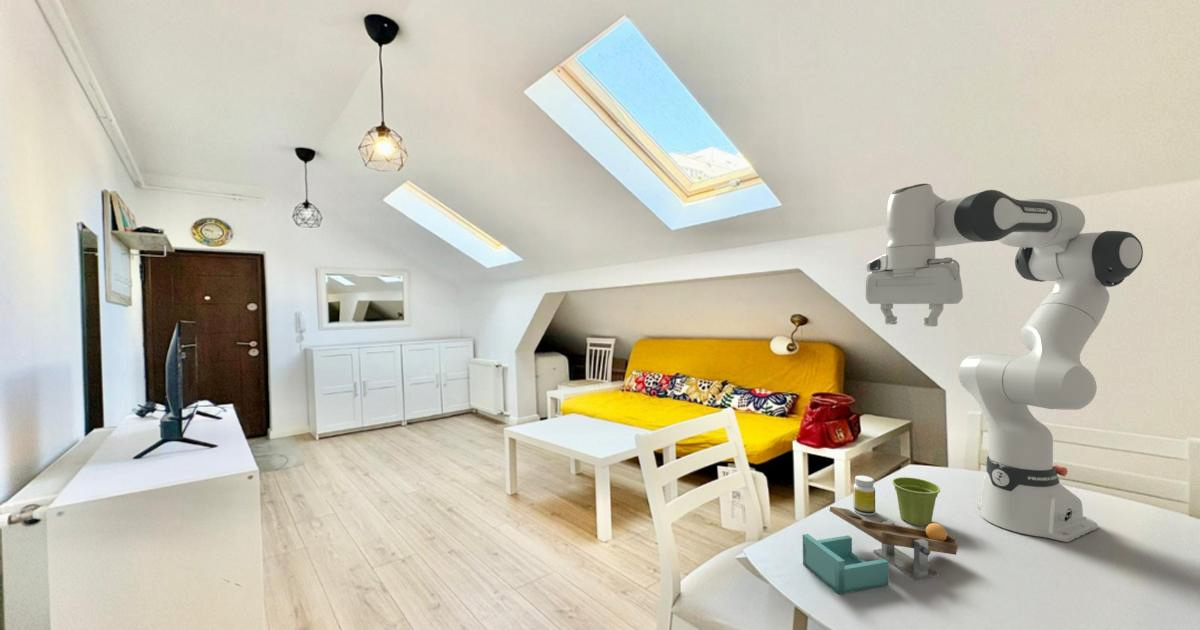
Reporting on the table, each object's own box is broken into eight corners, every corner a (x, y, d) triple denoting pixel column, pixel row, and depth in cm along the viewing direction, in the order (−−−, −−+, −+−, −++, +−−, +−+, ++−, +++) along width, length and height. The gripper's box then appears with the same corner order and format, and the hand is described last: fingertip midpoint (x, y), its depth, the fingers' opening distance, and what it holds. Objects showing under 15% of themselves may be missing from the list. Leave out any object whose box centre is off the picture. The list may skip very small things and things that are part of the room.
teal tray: (848, 556, 96) (848, 527, 96) (888, 585, 86) (888, 553, 86) (802, 564, 93) (802, 534, 93) (839, 594, 84) (838, 561, 83)
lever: (895, 521, 106) (897, 509, 106) (955, 554, 92) (958, 540, 92) (829, 510, 102) (832, 498, 102) (882, 543, 88) (885, 529, 88)
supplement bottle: (878, 516, 113) (878, 482, 112) (857, 515, 114) (857, 481, 113) (871, 508, 117) (871, 475, 117) (850, 506, 118) (850, 474, 118)
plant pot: (942, 534, 104) (942, 495, 104) (892, 524, 109) (892, 487, 109) (938, 517, 112) (938, 481, 112) (892, 508, 117) (892, 474, 117)
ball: (934, 536, 97) (935, 520, 97) (950, 545, 93) (952, 528, 93) (920, 537, 96) (922, 520, 96) (936, 545, 92) (938, 528, 92)
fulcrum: (892, 548, 98) (892, 518, 98) (938, 576, 88) (938, 542, 88) (872, 551, 97) (872, 521, 97) (916, 580, 87) (916, 546, 87)
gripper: (971, 256, 91) (970, 327, 91) (882, 265, 111) (882, 323, 111) (946, 256, 89) (946, 328, 90) (860, 264, 109) (860, 323, 109)
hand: (910, 325), depth 100 cm, fingers open, 8 cm apart
